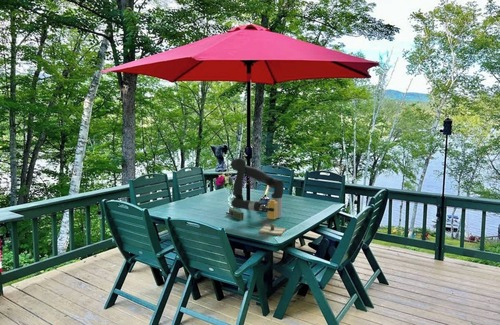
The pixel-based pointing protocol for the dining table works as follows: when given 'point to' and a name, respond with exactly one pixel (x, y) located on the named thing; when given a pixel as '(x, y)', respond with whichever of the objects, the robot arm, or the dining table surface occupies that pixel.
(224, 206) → the dining table surface
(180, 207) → the dining table surface
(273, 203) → the tall orange toy brick
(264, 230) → the beige board with knob
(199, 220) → the dining table surface
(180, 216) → the dining table surface
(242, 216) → the handheld radio
